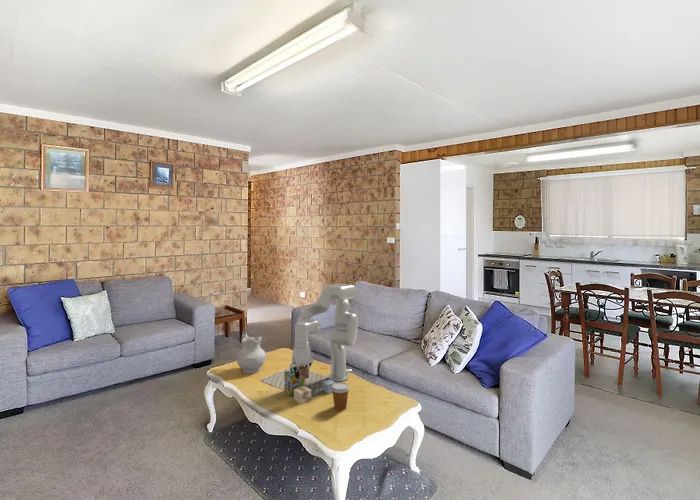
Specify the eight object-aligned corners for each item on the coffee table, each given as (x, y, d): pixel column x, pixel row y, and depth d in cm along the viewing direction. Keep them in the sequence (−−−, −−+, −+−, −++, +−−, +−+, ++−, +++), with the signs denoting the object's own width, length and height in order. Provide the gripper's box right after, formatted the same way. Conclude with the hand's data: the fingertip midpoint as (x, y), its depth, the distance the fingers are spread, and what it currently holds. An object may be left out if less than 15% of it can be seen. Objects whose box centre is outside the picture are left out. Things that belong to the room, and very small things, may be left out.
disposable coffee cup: (343, 413, 198) (343, 390, 197) (328, 408, 203) (327, 386, 202) (352, 406, 206) (352, 384, 205) (338, 401, 211) (337, 380, 210)
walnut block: (303, 374, 216) (303, 365, 216) (308, 377, 212) (308, 368, 212) (295, 377, 213) (295, 367, 212) (300, 380, 208) (300, 370, 208)
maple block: (304, 396, 218) (304, 385, 218) (311, 400, 213) (311, 390, 212) (294, 399, 214) (293, 389, 214) (300, 404, 209) (300, 393, 208)
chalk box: (291, 396, 218) (291, 371, 217) (284, 391, 225) (283, 366, 224) (305, 392, 223) (305, 367, 222) (297, 387, 230) (297, 363, 230)
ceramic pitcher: (229, 372, 257) (225, 336, 254) (251, 361, 273) (248, 327, 270) (250, 379, 245) (247, 342, 242) (273, 367, 261) (270, 332, 258)
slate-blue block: (330, 388, 229) (330, 379, 228) (335, 391, 224) (335, 382, 224) (322, 390, 225) (322, 381, 225) (327, 394, 221) (327, 384, 220)
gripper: (311, 340, 220) (311, 371, 221) (284, 345, 209) (284, 378, 210) (318, 343, 214) (318, 375, 215) (291, 349, 203) (291, 382, 204)
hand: (301, 376), depth 212 cm, fingers closed on walnut block, 5 cm apart
